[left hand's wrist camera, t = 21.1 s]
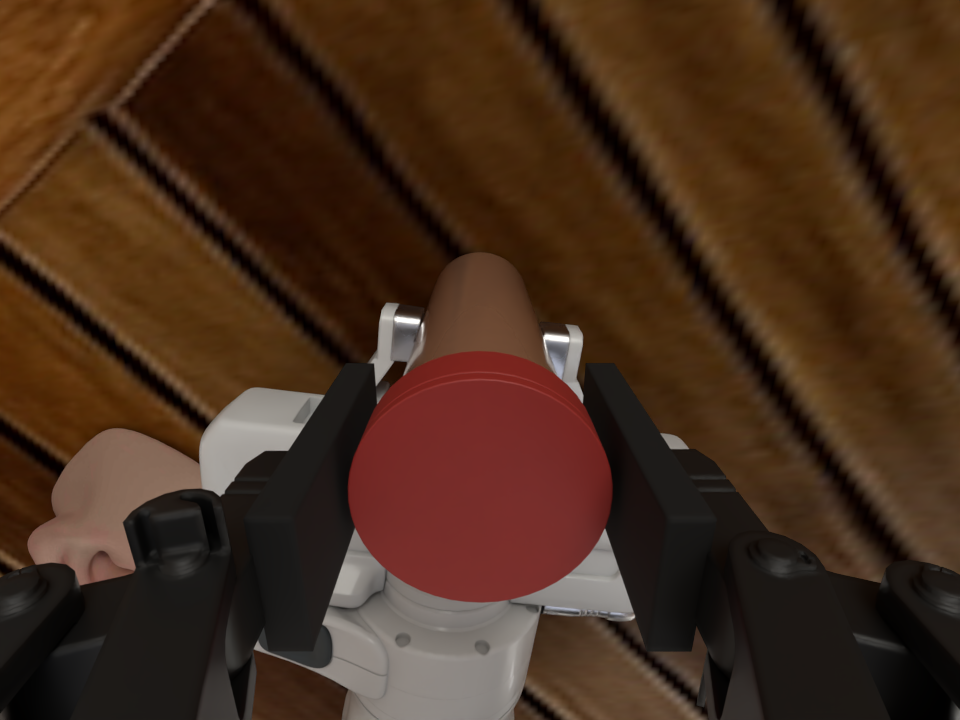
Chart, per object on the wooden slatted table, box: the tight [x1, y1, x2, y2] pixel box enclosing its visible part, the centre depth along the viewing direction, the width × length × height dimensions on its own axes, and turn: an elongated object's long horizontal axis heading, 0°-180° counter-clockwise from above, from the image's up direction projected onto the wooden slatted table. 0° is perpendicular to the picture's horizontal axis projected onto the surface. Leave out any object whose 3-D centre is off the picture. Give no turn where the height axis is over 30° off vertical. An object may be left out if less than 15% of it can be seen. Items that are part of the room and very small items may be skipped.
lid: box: [348, 351, 613, 603], centre depth 11 cm, size 5×5×2 cm
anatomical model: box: [28, 428, 202, 585], centre depth 29 cm, size 13×4×12 cm
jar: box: [402, 252, 558, 377], centre depth 19 cm, size 5×5×16 cm
